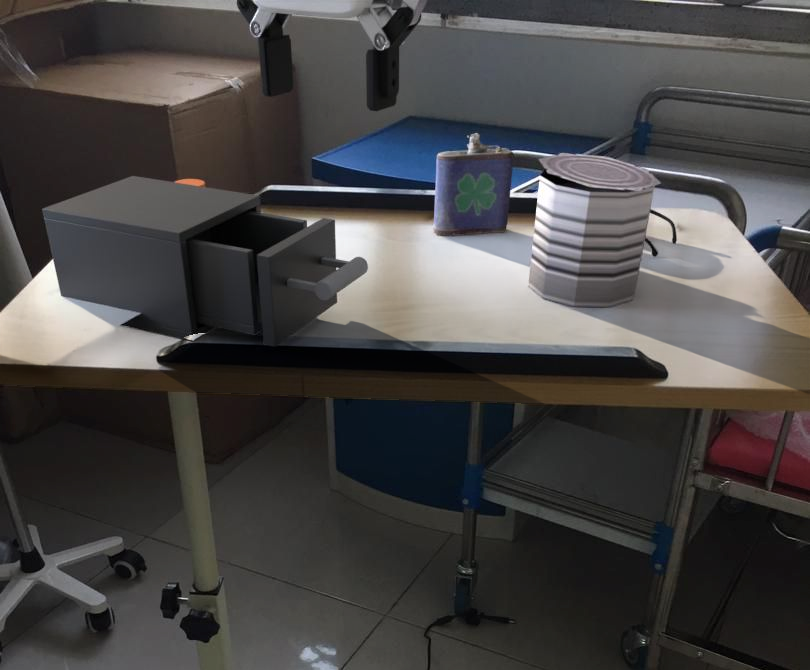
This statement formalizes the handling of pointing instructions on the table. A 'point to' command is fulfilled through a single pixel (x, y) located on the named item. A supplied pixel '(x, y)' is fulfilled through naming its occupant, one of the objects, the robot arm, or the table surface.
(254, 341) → the table surface
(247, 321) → the pull-out drawer box
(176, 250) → the grey drawer casing
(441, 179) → the flask
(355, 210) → the table surface
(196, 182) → the button
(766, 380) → the table surface
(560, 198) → the can
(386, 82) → the robot arm
